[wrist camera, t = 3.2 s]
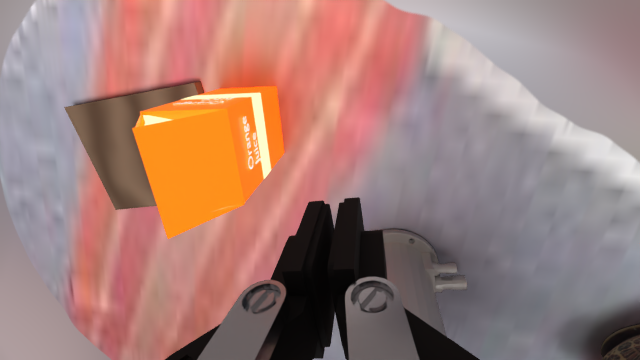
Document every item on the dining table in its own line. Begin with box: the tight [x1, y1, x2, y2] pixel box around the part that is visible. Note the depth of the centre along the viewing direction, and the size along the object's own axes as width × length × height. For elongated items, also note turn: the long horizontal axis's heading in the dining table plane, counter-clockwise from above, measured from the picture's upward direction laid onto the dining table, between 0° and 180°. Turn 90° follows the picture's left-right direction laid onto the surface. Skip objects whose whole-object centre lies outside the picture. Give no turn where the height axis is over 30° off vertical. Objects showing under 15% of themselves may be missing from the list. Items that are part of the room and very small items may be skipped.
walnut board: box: [64, 81, 204, 210], centre depth 42 cm, size 20×16×2 cm
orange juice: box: [132, 86, 284, 239], centre depth 30 cm, size 8×9×20 cm
